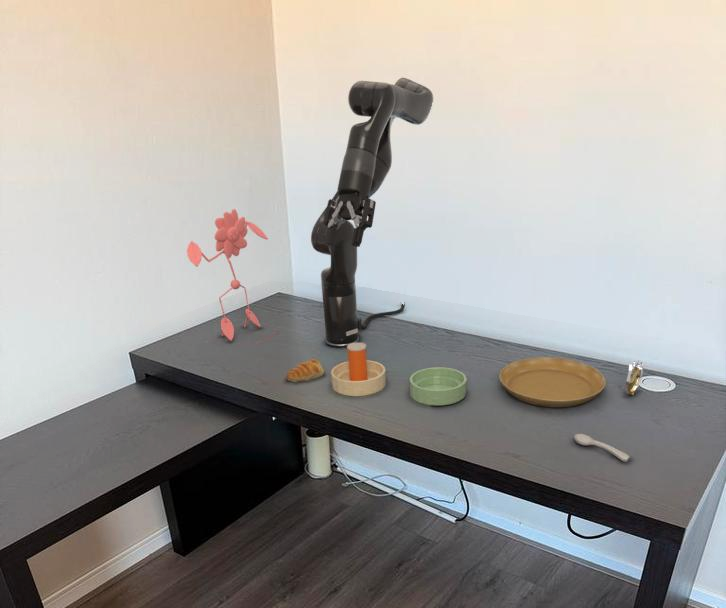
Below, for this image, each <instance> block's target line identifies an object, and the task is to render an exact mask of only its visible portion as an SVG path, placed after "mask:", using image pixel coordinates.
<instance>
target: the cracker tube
mask: <svg viewBox="0 0 726 608" xmlns="http://www.w3.org/2000/svg"><path fill="white" fill-rule="evenodd" d="M346 349H347V361H348V362H349V377H350V381H363V380H368V377H367V360H368V359H367V358H368V357H367V344H366V343H365V342H358V343H351V344H349V345H348V346H347V347H346Z"/></svg>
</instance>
